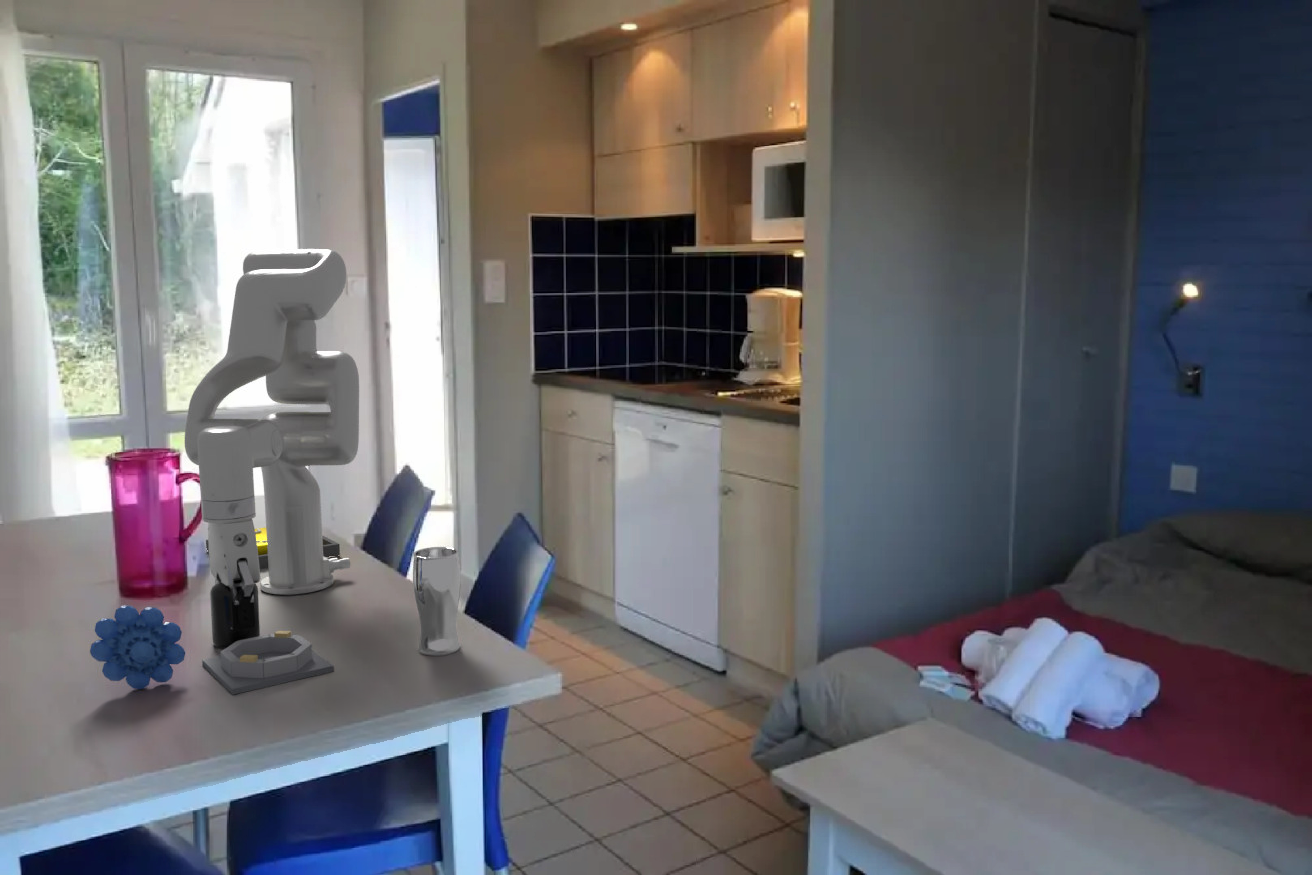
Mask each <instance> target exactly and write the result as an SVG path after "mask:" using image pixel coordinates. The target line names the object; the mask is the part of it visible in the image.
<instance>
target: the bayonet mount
mask: <svg viewBox="0 0 1312 875" xmlns="http://www.w3.org/2000/svg"><path fill="white" fill-rule="evenodd" d="M312 645H313V644H312V643H311V642H310V641H309V640H307V639H306V638H305V637H303V636H302V635H299V634H292V631H291V630H277V631H275V632H274V634H272V633H270V634H265V635H260V636H258V637H253V638H249V639H244V640H239V641H236V642H235V643H233V644H232V645H230V646H229V647H227V648H223V650H221V651H220V655H219V656H215V657H209V658H205V659H202V662H201V663H202V666H203V667H204V668H205V669H206V670H207V671H208V672H209V673H210V674H211V675H212V676H213V677H214V678H215V679H216V680H217V681H218V682H219V683H221V685H222V686H223V687H224V688H225V689H226V690H227V691H228V692H229V693H230V694H232V696H233V695H238V694H242V693H246V692H251V691H254V690H259V689H262V688H263V689H264V688H266V687H271V686H277V685H280V684H285V683H287V682H292V681H297V680H301V679H305V678H311V677H315V676H318V675H323V674H327V673H331V672H334V671H335V670H334V665H333V664H332V663H331V662H329V661H328V660H326V659H325V658H324V657H323V656H321V655H320V654H318V653H317V652H316V651H314V650H313V648H312V647H313V646H312Z"/></svg>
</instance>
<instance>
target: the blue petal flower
mask: <svg viewBox="0 0 1312 875" xmlns="http://www.w3.org/2000/svg"><path fill="white" fill-rule="evenodd" d="M164 619H165V616H164V614H163V612H162V611H161V609H159V608H157V607H151V606H146V607H145V608H144V609H142V610H141V611H140V612H139V611H138V609H136V608H135V607H133V606H132V605H124V604H123V605H121V606H120V607H118V608H117V609H115V613H114V618H108V617H107V618H105V617H103V618H102V619H100V620H98V621H97V622H96V623H95V626H94V632H95V635H96V636H97V637H99V639H97V640H95V641H94V642H93V643H91V644H90V650H89V653H90V656H91V657H92V658H93V659H94V660H96V661H97V662H101V663H102V662H103V666H102V670H101V671H102V674H103V676H104V677H105V678H106V679H107V680H109V681H110V682H111V681H112V682H120V681H122V680H123V679H125V681H126V683H127V685H128V686H129V687H130V688H132V689H134V690H143V689H145V688H146V687H148V686H149V685H150V682H151V679H152V680H153V681H154V682H156V683H166V682H169V681H170V680H171V679H172V678H173V672H174V669H173V667H172V666H171V665H176V666H177V665H179V664H181V663H182V662H184V661H185V656H186V652H185V648H184V647H183V646H181V645H180V644H179V643H177V642H178V641H180V640H181V638H182V632H183V631H182V629H181V627H180V626H179V625H178V624H177V623H175V622H173V621H172V622H170V621H165V622H164Z"/></svg>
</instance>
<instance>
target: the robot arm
mask: <svg viewBox="0 0 1312 875" xmlns="http://www.w3.org/2000/svg"><path fill="white" fill-rule="evenodd" d="M242 272H243V274H242V275H241V277H240V278H239V279H238V281H237V283H236V286H235V292H234V293H235V294H234V297H233V298H234V299H233V306H232V307H233V308H232V313H231V314H232V315H231V322H230V327H229V328H230V329H229V335H228V342H227V350H226V354H225V355H224V356H223V358H222V359H221V360H220V361H219V362H217V363H216V364H215V365H214V366H213V367H212V368H211V369H210V370H209V371H208V372H207V373H206V374H205V376H204V377H203V378H202V379H201V380H200V382H199V383H198V384H197V386H196V388H195V389H194V390H193V393H192V395H191V398H190V400H189V404H188V408H187V410H188V411H187V416H186V421H185V423H186V424H185V428H184V429H185V430H184V449H185V450H184V451H185V453H186V456H187V458H188V460H189V461H190V462H191V463H193V464H194V465H196V466H198V474H199V487H200V490H199V491H200V502H201V503H200V505H201V506H200V507H201V518H202V521H203V522H204V523H208V524H207V533H208V536H207V538H208V539H207V540H208V546H209V553H208V559H209V568H210V569H209V570H210V573H211V575H212V576H213V578H214V580H215V581H214V585H215V584H217V583H218V581H217V580H216V576H217V574H216V573H218V575H219V578H220V579H221V581H220V582H222V583H223V584H225V585H226V586H228V587H230V590H231V594H232V599H233V604H232V605H231V615H232V629H233V630H235V631H238V630H243V629H248V628H253V627H254V626H255V614H254V596H253V593H254V591H253V587H254V583H255V584H257V583H259V582H260V583H259V585H260V586H259V588H260V589H261V591H263V592H265V593H266V594H273V595H279V596H281V595H282V596H284V595H289V596H290V595H302V594H308V593H314V592H318V591H322V590H324V589H327V588H328V587H330V586H331V585H333V584H334V575H333V573H334V572H335V571H337V570H340V571H341V570H345V569H350V568H351V560H350V558H349V557H345V558H344V557H343V558H340V559H338V557H332V558H325V557H324V556H323V539H322V535H323V524H322V522H323V521H322V503H321V502H322V501H321V500H322V499H321V488H320V485H319V483H318V482H317V479H316V478H315V477H314V475H313V474H312V472H311V471H310V470H309V469H308V468H307V467H309V466H310V467H311V466H345V465H348V464H351V463H352V462H353V461H354V460H355V459H356V457H357V455H358V454H357V453H358V451H359V450H358V449H359V438H360V432H359V431H360V376H359V370H358V366H357V363H356V361H355V359H354V358H353V356H351V355H350V354H349V353H347V352H344V351H338V350H337V351H336V350H325V351H324V350H318V349H317V324H316V321H318V320H322V319H323V318H325V317H326V316H327V315H328V313H329V312H330V311H331V309H332V308H333V307H334V305H335V303H337V301H338V300H339V298H340V297H341V296H342V294H343V292H344V289H345V287H346V282H347V268H346V264H345V260H344V259H343V258H342V255H340V253H338V252H337V251H334V250H332V249H325V248H324V249H322V248H321V249H319V248H316V249H315V248H307V249H306V248H305V249H303V248H300V249H298V248H297V249H293V248H270V249H269V248H268V249H261V250H256V251H252V252H250V253H247V255H246V256H245V258H244V259H243V262H242ZM264 377H265V385H266V386H265V388H266V393H267V395H268V397H269V398H270V399H271V400H272V401H273V402H275V403H277V404H281V405H282V404H284V405H327V406H328V407H329V409H330V411H282V412H281V411H279V412H272V413H270V414H268V415H265V416H264V417H263V418H215V415H216V411H217V409H218V407H219V406H220V405H221V403H222V402H223V400H225V398H226V397H228V396H229V395H230V394H231V393H233V392H234V391H236V390H237V389H240V388H242V387H244V386H245V385H248V384H250V383H252V382H254V381H256V380H259V379H261V378H264ZM256 468H261V474H262V483H263V494H264V496H263V497H264V512H265V514H264V515H265V527H266V533H267V550H268V568H267V569H268V575H267V576H265V577H264V578H262V579H261V569H260V567H259V558H258V549H257V541H256V534H255V529H256V528H255V524H254V520H253V519H254V518H256V514H257V512H256V499H255V497H256V496H255V484H254V483H255V482H254V469H256ZM237 580H241V581H242V582H241V583H235V584H234V581H237ZM238 588H242V589H241V590H239V593H238V595H237V590H236V589H238Z"/></svg>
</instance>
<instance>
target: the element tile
mask: <svg viewBox="0 0 1312 875" xmlns="http://www.w3.org/2000/svg"><path fill="white" fill-rule="evenodd" d="M254 529H255V534H256V541H257V549H258V556H259V555H265V554H268V550H267V533H266V526H265V527H260V528H259V527H258V528H254Z"/></svg>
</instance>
